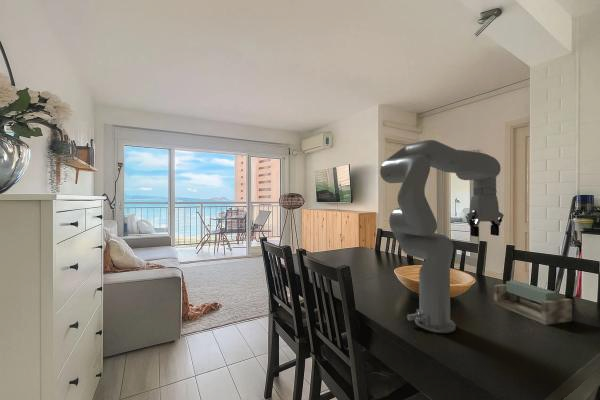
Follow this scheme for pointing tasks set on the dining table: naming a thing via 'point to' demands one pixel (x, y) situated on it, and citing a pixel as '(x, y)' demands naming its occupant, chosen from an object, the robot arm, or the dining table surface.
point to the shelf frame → (534, 307)
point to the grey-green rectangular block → (530, 291)
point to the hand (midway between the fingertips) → (484, 235)
